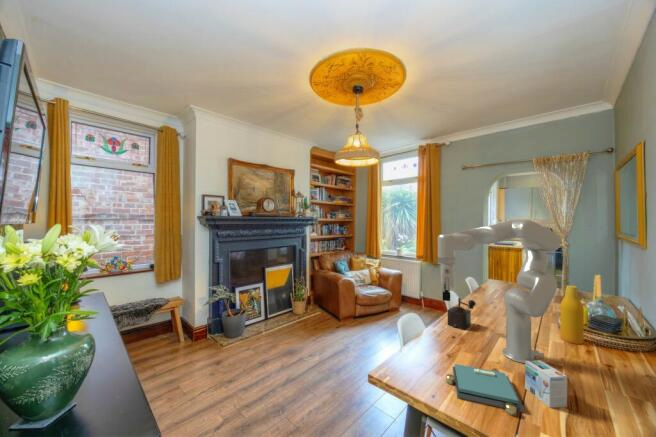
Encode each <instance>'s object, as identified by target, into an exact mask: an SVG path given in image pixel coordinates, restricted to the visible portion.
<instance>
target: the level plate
mask: <svg viewBox="0 0 656 437" xmlns="http://www.w3.org/2000/svg"><path fill="white" fill-rule="evenodd" d="M454 367H455V371H456V376H457V381H458V387H459V391H460V392H464V393H469V394H474V395H478V396H483V397H487V398H492V399H497V400H501V401H506V402H511V403H515V404H518V399H517V397H516V395H515V393H514V391H513V389H512V387H511V385H510V383H509V381H508V379H507V377H506V376H507V375H506V373H505V372H500V371H499V372H496V371H491V370H492V369H490V370H489V369H485V368H478V367H474V366H468V365H462V364H457V363H454Z"/></svg>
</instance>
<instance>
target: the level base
mask: <svg viewBox="0 0 656 437" xmlns="http://www.w3.org/2000/svg"><path fill="white" fill-rule="evenodd" d="M490 370H491V371H496V372H500V371H499V370H497V369H494V368H492V369H490ZM506 377H507V379H508V381H509V383H510V385H511V387H512V389H513V391H514V393H515V395H516V397H517V399H518V404H515V403H511V402H506V401H501V400H497V399H492V398H487V397H483V396H478V395H474V394H469V393H464V392H460V391H459V387H458V381H457V376H456V371H455V366H452V374H450V373H449V374H448V373H447V374H446V377H445V378H446V379H445V383H446V384H448V385H450V386H454V387H455V392H456V398H457V399H459V400H465V401H469V402H474V403H478V404H483V405H486V406H490V407H491V406H492V407H495V408H496V407H497V408H501V409H505V410H504V411H505V413H506V414H507V415H508V416H511V417H516V416H517V412H519V413H524V405H523V403H522V401H521V399H520V398H519V395H518V393H517V391H516V389H515V388H514V385H513V384H512V382H511V380H510V377H509V376H507V375H506Z"/></svg>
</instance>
